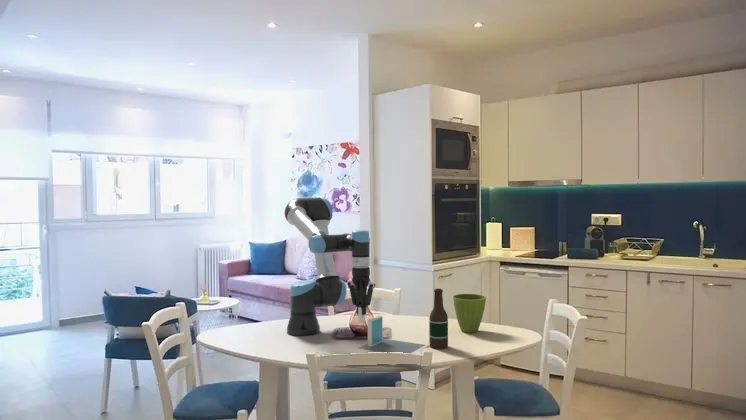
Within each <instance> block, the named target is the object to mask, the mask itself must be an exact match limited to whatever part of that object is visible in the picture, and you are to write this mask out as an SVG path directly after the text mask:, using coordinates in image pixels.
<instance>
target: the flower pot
mask: <svg viewBox="0 0 746 420" xmlns="http://www.w3.org/2000/svg"><path fill="white" fill-rule="evenodd" d="M452 299H453V305H454V311H455V312H454V313H455V316H456V319H457V324H458V326H459V328H460V331H461V332H462V333H467V334H476V333H477V332H478V331H479V329H480V326H481V323H482V319H483V316H484V311H485V307H486V301H487V297H486V296H485V295H483V294H477V293H476V294H475V293H459V294H455V295H453V296H452Z"/></svg>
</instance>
